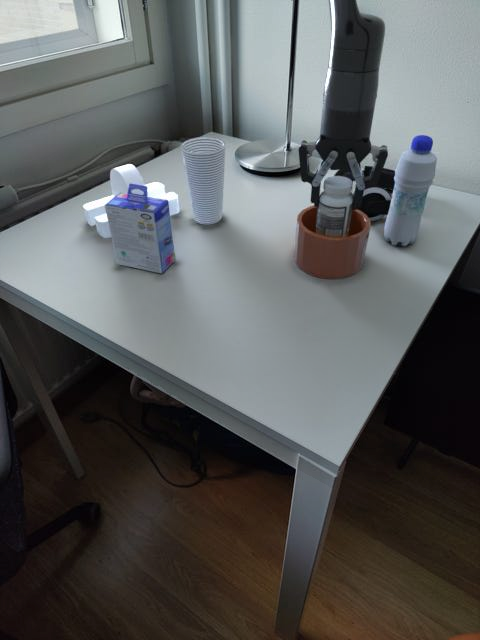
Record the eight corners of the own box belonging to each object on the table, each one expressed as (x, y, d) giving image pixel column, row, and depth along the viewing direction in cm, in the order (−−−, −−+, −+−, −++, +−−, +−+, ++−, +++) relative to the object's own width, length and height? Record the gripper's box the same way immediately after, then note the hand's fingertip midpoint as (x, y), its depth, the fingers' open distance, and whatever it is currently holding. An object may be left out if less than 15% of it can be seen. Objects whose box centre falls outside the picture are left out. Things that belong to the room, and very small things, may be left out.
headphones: (315, 165, 97) (379, 153, 107) (308, 200, 102) (370, 186, 112) (378, 197, 86) (443, 181, 96) (367, 234, 91) (430, 215, 101)
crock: (363, 244, 89) (370, 206, 84) (362, 282, 80) (370, 243, 75) (298, 238, 91) (301, 200, 86) (290, 274, 82) (293, 235, 77)
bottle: (388, 227, 94) (411, 126, 80) (421, 237, 91) (450, 134, 77) (375, 242, 90) (396, 138, 76) (409, 253, 87) (437, 146, 73)
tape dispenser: (85, 220, 98) (72, 171, 91) (159, 196, 106) (153, 149, 99) (104, 239, 92) (92, 188, 85) (181, 212, 100) (176, 163, 93)
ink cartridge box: (177, 258, 87) (168, 185, 77) (163, 275, 83) (152, 200, 73) (131, 249, 89) (116, 178, 80) (116, 264, 85) (98, 191, 76)
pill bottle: (328, 223, 85) (334, 171, 78) (354, 234, 82) (363, 181, 75) (308, 234, 82) (313, 181, 76) (335, 246, 79) (342, 192, 72)
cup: (204, 232, 93) (198, 157, 83) (180, 217, 98) (171, 144, 88) (236, 218, 98) (234, 145, 87) (211, 204, 102) (206, 133, 92)
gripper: (297, 106, 66) (290, 213, 77) (401, 111, 63) (379, 221, 75) (302, 91, 71) (295, 193, 82) (398, 95, 69) (378, 199, 80)
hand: (335, 206), depth 78 cm, fingers closed on pill bottle, 5 cm apart
